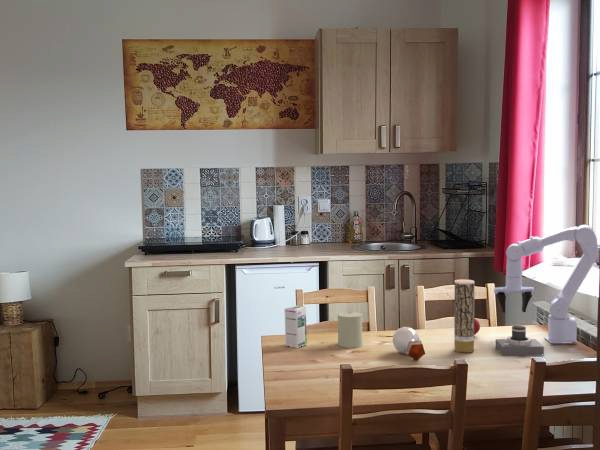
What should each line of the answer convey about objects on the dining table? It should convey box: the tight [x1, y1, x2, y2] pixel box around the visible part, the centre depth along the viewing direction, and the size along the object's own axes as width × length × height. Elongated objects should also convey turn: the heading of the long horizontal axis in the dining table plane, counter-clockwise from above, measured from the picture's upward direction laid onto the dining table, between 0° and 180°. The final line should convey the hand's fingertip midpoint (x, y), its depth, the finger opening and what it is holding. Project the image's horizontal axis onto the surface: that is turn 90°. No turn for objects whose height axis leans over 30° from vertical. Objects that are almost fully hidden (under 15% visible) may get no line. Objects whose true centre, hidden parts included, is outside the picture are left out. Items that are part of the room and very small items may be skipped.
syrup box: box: [284, 305, 308, 349], centre depth 256 cm, size 6×6×14 cm
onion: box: [474, 317, 481, 336], centre depth 265 cm, size 6×6×8 cm
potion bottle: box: [392, 326, 426, 362], centre depth 241 cm, size 9×10×15 cm
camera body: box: [495, 335, 545, 356], centre depth 244 cm, size 14×10×4 cm
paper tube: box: [453, 278, 476, 354], centre depth 245 cm, size 7×7×25 cm
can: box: [337, 311, 363, 349], centre depth 256 cm, size 9×9×12 cm
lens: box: [511, 325, 527, 341], centre depth 244 cm, size 5×5×6 cm
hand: (513, 311), depth 261 cm, fingers open, 7 cm apart
